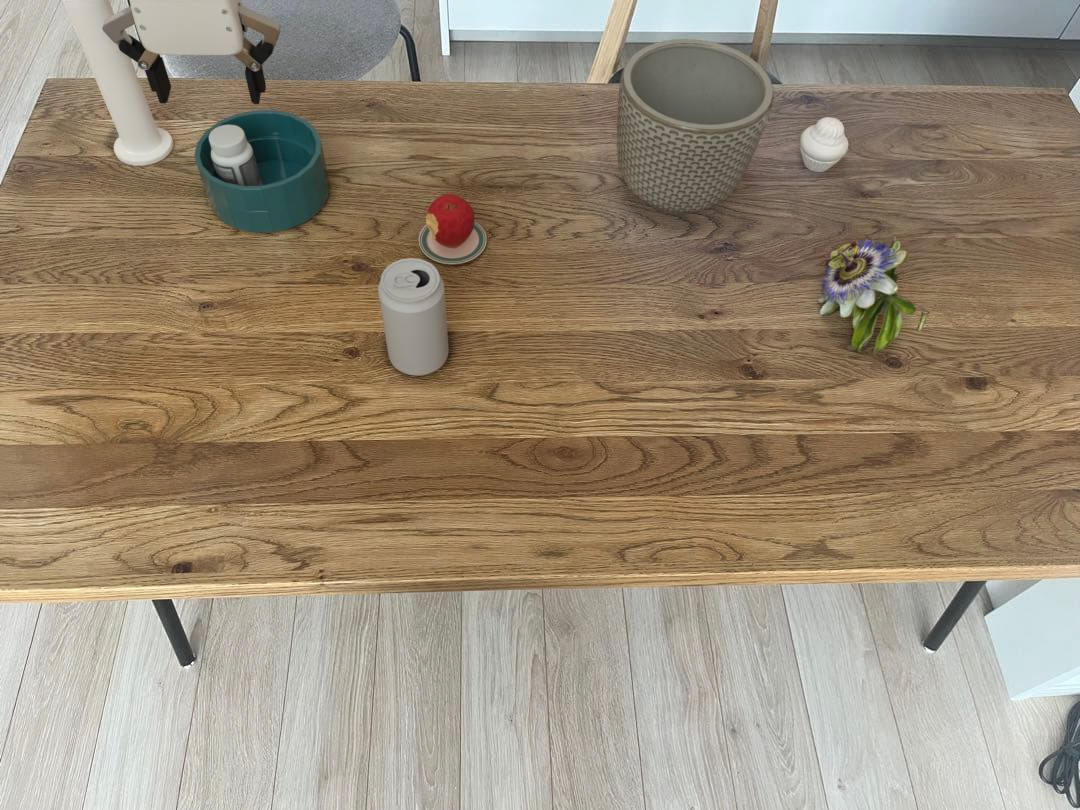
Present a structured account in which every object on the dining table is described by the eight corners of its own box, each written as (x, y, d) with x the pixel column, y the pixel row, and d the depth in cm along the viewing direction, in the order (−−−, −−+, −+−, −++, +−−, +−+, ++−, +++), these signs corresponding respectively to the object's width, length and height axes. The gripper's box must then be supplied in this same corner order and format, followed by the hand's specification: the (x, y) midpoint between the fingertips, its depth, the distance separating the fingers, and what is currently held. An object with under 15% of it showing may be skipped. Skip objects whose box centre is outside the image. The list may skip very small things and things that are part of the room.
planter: (690, 262, 103) (719, 152, 90) (577, 194, 109) (589, 81, 96) (767, 191, 111) (804, 81, 98) (658, 131, 117) (679, 20, 104)
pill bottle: (258, 175, 107) (242, 118, 101) (268, 199, 105) (252, 142, 98) (219, 185, 106) (200, 127, 99) (228, 209, 104) (210, 152, 97)
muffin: (847, 164, 115) (866, 119, 109) (824, 186, 112) (842, 142, 106) (807, 143, 117) (824, 98, 111) (783, 164, 114) (798, 119, 108)
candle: (114, 169, 108) (26, -29, 87) (116, 133, 111) (32, -64, 91) (173, 163, 109) (100, -35, 88) (173, 127, 113) (103, -69, 92)
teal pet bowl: (203, 236, 102) (186, 190, 96) (219, 157, 110) (204, 110, 104) (326, 234, 103) (316, 188, 97) (333, 156, 111) (324, 109, 105)
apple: (470, 274, 100) (469, 233, 95) (407, 255, 101) (403, 213, 96) (496, 230, 104) (496, 187, 99) (435, 212, 106) (432, 169, 100)
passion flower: (810, 334, 104) (814, 233, 101) (906, 332, 103) (914, 229, 99) (824, 360, 94) (829, 249, 90) (931, 359, 92) (941, 245, 88)
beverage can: (454, 373, 92) (450, 296, 82) (394, 385, 90) (383, 308, 81) (441, 328, 95) (435, 249, 85) (383, 339, 94) (371, 260, 84)
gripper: (267, -81, 84) (295, 76, 98) (79, -87, 82) (135, 74, 96) (258, -41, 79) (290, 118, 93) (60, -46, 78) (122, 117, 91)
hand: (211, 96), depth 94 cm, fingers open, 9 cm apart
